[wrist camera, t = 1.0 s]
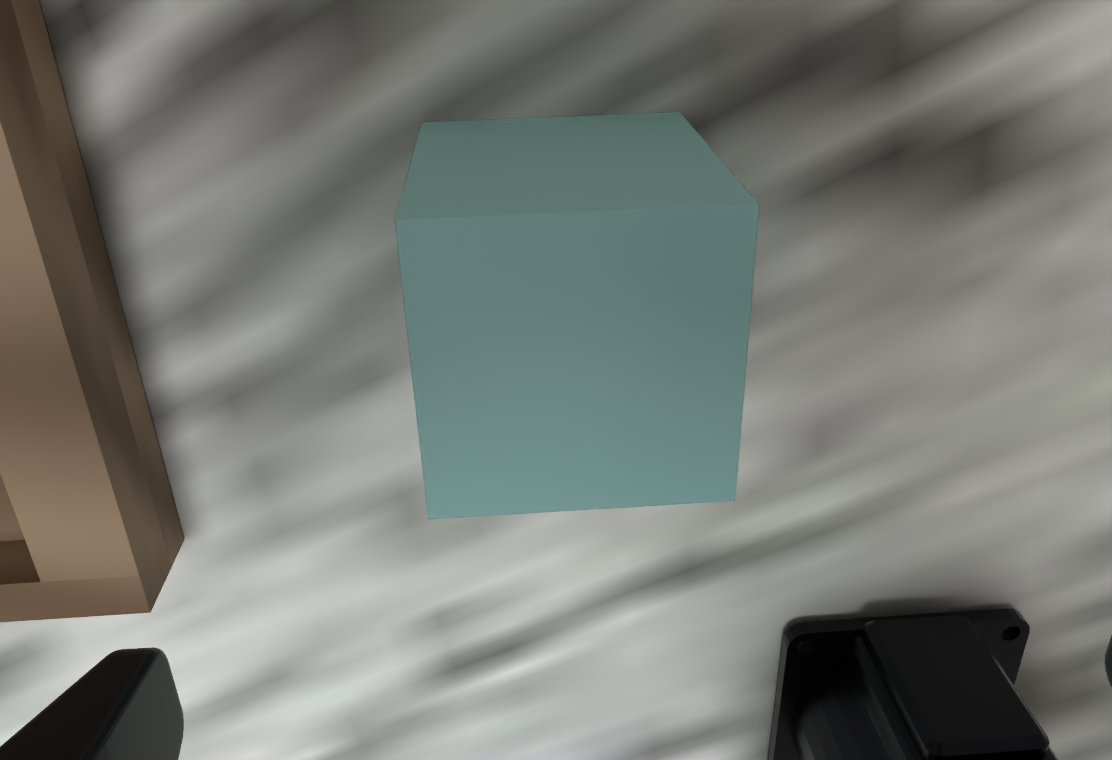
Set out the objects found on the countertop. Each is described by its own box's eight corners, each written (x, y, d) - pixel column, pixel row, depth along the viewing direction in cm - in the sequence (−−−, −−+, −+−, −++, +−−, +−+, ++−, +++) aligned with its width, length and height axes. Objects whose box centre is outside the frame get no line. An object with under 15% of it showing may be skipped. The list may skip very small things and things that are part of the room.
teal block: (670, 341, 20) (735, 500, 15) (443, 353, 20) (428, 519, 15) (679, 111, 18) (759, 203, 13) (422, 121, 18) (394, 220, 12)
